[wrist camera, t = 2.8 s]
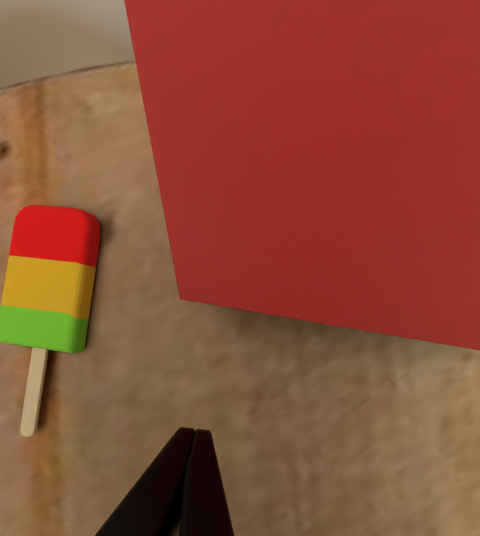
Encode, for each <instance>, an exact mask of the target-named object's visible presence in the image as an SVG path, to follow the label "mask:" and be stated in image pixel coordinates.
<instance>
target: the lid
mask: <svg viewBox="0 0 480 536" xmlns="http://www.w3.org/2000/svg"><path fill="white" fill-rule="evenodd" d="M125 6H126V11H127V17H128V22H129V28H130V33H131V38H132V43H133V49H134V54H135V60H136V65H137V70H138V76H139V81H140V87H141V92H142V97H143V103H144V108H145V113H146V119H147V124H148V129H149V135H150V140H151V145H152V151H153V156H154V162H155V167H156V172H157V178H158V183H159V188H160V194H161V199H162V204H163V210H164V215H165V220H166V226H167V231H168V237H169V242H170V247H171V253H172V258H173V263H174V269H175V274H176V279H177V285H178V290H179V296H180V299H182V300H188V301H194V302H200V303H206V304H212V305H217V306H223V307H229V308H235V309H241V310H247V311H253V312H258V313H264V314H270V315H276V316H282V317H288V318H294V319H299V320H305V321H311V322H317V323H323V324H329V325H335V326H340V327H346V328H352V329H358V330H364V331H370V332H376V333H381V334H387V335H393V336H399V337H405V338H411V339H417V340H422V341H428V342H434V343H440V344H446V345H452V346H458V347H463V348H469V349H475V350H480V0H125Z"/></svg>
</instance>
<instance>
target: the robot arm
mask: <svg viewBox="0 0 480 536" xmlns="http://www.w3.org/2000/svg"><path fill="white" fill-rule="evenodd" d="M178 535H179V536H234V532H233V528H232V523H231V519H230V514H229V510H228V505H227V501H226V497H225V492H224V488H223V483H222V479H221V474H220V470H219V465H218V461H217V457H216V452H215V448H214V443H213V439H212V434H211V432H210V431H209V430H203V429H197V430H194V429H193V428H186V427H180V428H179V429H178V430H177V431H176V432H175V434H174V435H173V436H172V438H171V439H170V440H169V441H168V443H167V444H166V445H165V447H164V448H163V449H162V450H161V452H160V453H159V454H158V455H157V457H156V458H155V459H154V461H153V462H152V463H151V464H150V466H149V467H148V468H147V469H146V471H145V472H144V473H143V475H142V476H141V477H140V478H139V480H138V481H137V482H136V484H135V485H134V486H133V487H132V489H131V490H130V491H129V492H128V494H127V495H126V496H125V498H124V499H123V500H122V501H121V503H120V504H119V505H118V507H117V508H116V509H115V510H114V512H113V513H112V514H111V515H110V517H109V518H108V519H107V521H106V522H105V523H104V524H103V526H102V527H101V528H100V530H99V531H98V532H97V533H96V535H95V536H178Z"/></svg>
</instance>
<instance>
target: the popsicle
mask: <svg viewBox="0 0 480 536" xmlns="http://www.w3.org/2000/svg"><path fill="white" fill-rule="evenodd" d="M100 236H101V227H100V223H99V221H98V220H97V218H96V217H95V216H93V215H92V214H90V213H88V212H86V211H84V210H80V209H75V208H67V207H55V206H43V205H31V206H27V207H24V208H23V209H22V210H20V211H19V213H18V214H17V216H16V219H15V223H14V227H13V234H12V240H11V246H10V252H9V258H8V264H7V270H6V277H5V283H4V289H3V295H2V301H1V307H0V342H1V343H7V344H14V345H21V346H27V347H33V348H32V355H31V361H30V368H29V374H28V381H27V387H26V394H25V400H24V407H23V413H22V419H21V426H20V433H21V434H22V435H23V436H27V437H29V436H32V435H34V434H35V432H36V430H37V423H38V417H39V410H40V404H41V397H42V390H43V384H44V377H45V371H46V364H47V357H48V351H49V350H55V351H62V352H68V353H78V352H81V351H83V350H84V348H85V341H86V334H87V327H88V320H89V313H90V306H91V299H92V292H93V285H94V278H95V271H96V264H97V257H98V250H99V243H100Z"/></svg>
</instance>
